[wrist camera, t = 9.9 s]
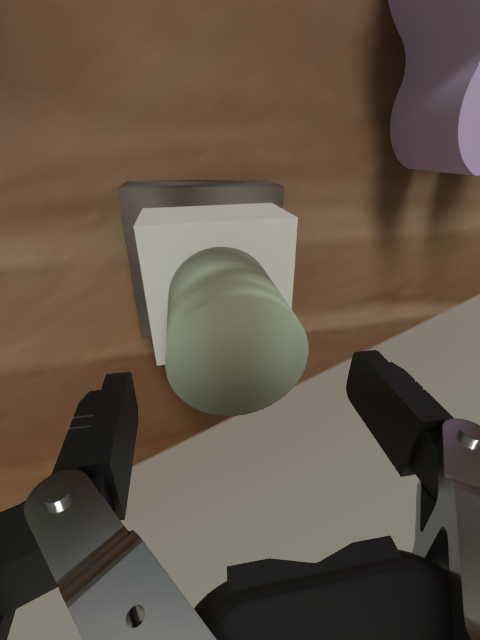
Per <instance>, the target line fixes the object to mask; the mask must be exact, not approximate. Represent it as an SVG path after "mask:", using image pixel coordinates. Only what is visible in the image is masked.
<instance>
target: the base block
mask: <svg viewBox="0 0 480 640" xmlns="http://www.w3.org/2000/svg"><path fill="white" fill-rule="evenodd" d="M117 189H118V195H119V201H120V207H121V213H122V220H123V226H124V232H125V238H126V244H127V250H128V257H129V263H130V269H131V275H132V281H133V288H134V294H135V300H136V306H137V312H138V318H139V325H140V331H141V337H145V336H152V334H151V328H150V322H149V316H148V310H147V304H146V298H145V292H144V286H143V280H142V274H141V268H140V262H139V256H138V250H137V244H136V238H135V233H134V227H133V226H134V224H135V222H136V220H137V218H138V216H139V214H140V212H141V210H142V208H162V207H185V206H208V205H232V204H255V203H273V204H275V205H277V206H278V207H280V208H282V209H283V196H284V186H282V185H279V184H276V183H274V182H271V181H268V180H167V181H127V182H125V183H124V184H123V185H121V186H120V187H119V188H117Z"/></svg>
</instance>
